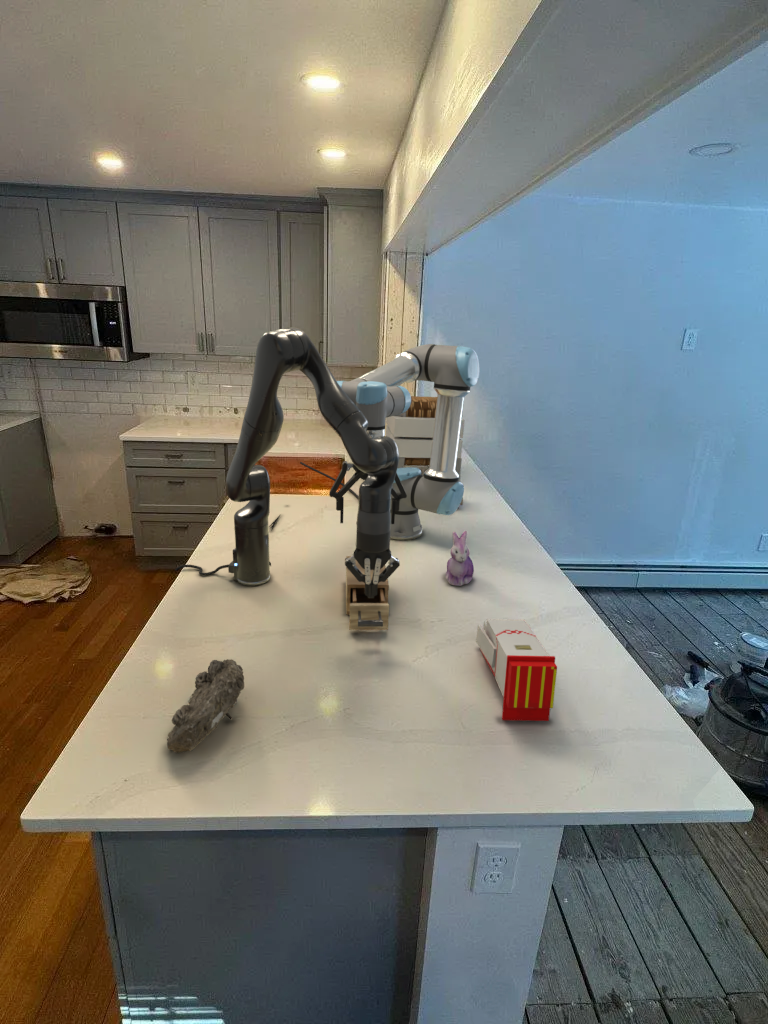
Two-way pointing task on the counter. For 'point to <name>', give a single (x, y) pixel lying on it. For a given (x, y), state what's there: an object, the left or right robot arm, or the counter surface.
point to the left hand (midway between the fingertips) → (370, 596)
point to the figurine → (459, 562)
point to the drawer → (368, 611)
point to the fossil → (206, 705)
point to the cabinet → (361, 585)
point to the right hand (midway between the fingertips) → (367, 522)
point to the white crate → (417, 433)
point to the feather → (275, 522)
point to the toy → (519, 668)
